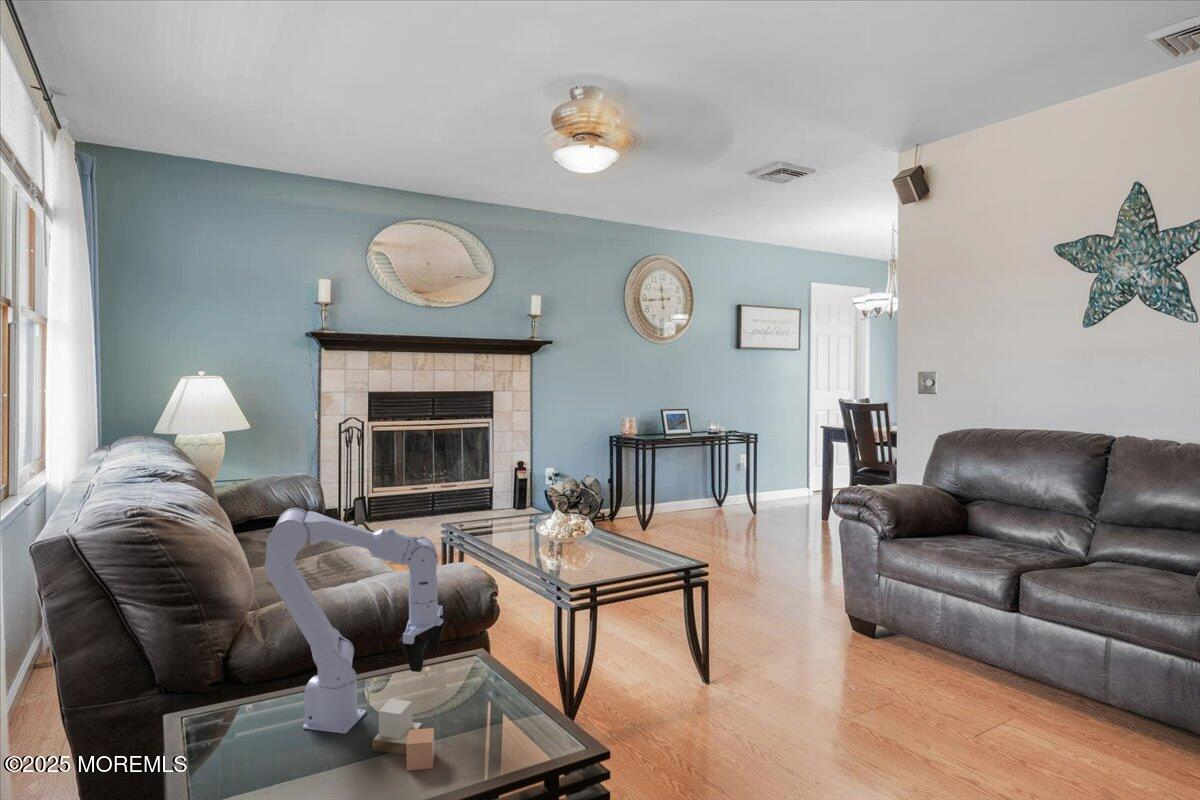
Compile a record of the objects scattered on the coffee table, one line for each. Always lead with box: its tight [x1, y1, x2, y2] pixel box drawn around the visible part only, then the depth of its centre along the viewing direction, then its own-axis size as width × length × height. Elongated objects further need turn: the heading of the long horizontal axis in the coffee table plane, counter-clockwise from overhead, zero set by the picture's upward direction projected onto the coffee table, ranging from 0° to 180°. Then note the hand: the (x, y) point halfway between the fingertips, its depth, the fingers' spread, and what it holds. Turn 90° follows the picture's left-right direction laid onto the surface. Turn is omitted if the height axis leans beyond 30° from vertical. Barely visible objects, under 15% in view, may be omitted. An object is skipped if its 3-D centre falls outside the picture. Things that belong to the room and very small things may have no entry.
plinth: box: [371, 721, 424, 755], centre depth 134 cm, size 7×7×2 cm
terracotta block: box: [405, 727, 436, 771], centre depth 128 cm, size 4×4×5 cm
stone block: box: [377, 698, 413, 739], centre depth 133 cm, size 4×4×5 cm
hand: (424, 661), depth 145 cm, fingers open, 7 cm apart
